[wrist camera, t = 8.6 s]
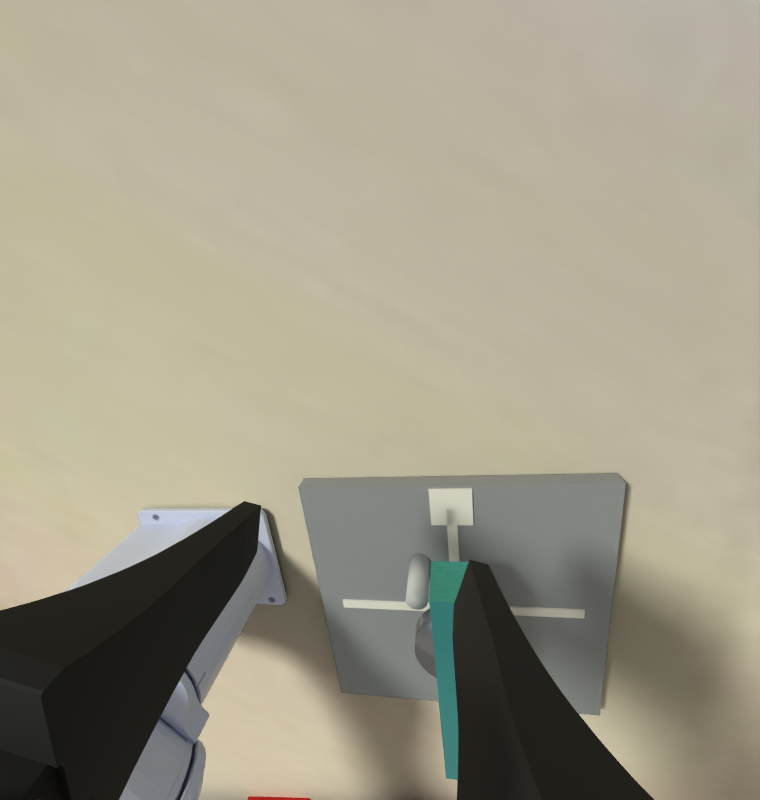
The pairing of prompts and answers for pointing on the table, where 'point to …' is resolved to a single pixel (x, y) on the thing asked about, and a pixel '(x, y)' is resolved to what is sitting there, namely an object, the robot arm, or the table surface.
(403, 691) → the lock board
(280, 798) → the maze game
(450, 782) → the table surface
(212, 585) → the robot arm
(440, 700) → the teal rectangular block
